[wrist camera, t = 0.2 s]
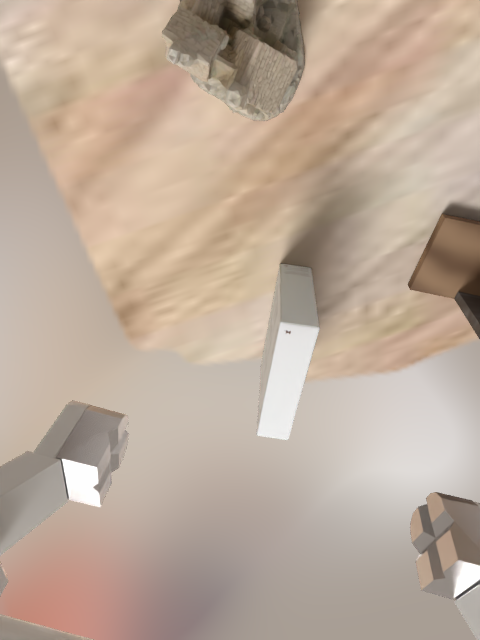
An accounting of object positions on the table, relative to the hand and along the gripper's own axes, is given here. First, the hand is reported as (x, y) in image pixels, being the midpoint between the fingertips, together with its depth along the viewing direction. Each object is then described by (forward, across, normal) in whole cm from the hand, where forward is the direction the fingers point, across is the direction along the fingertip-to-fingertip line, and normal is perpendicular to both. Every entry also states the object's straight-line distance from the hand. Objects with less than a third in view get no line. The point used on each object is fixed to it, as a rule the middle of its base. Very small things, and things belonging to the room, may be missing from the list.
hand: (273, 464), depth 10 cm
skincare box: (+47, -4, +28) cm, 55 cm away
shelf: (+48, -26, +12) cm, 56 cm away
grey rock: (+47, +9, -8) cm, 49 cm away
